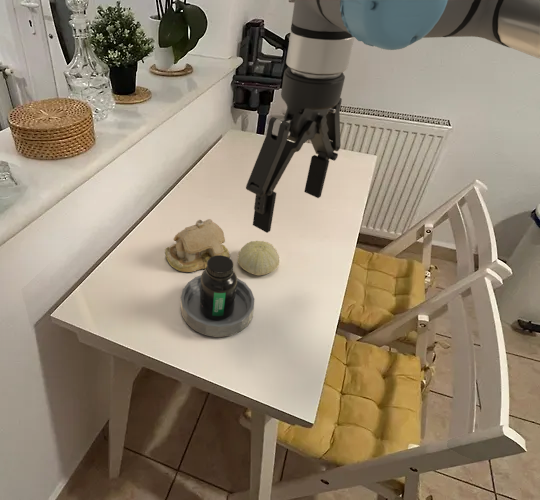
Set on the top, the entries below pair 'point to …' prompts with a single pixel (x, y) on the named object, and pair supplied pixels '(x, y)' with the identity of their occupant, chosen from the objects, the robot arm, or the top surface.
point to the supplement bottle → (218, 288)
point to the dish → (217, 327)
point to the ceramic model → (196, 246)
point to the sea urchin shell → (258, 258)
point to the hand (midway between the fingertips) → (288, 210)
